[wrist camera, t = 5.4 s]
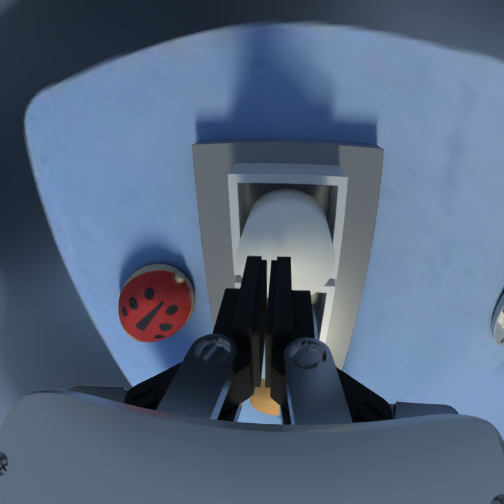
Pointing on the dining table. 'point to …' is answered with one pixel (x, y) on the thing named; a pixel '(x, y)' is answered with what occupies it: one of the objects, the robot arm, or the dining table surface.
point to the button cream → (289, 237)
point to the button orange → (264, 400)
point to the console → (305, 179)
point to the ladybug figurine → (155, 302)
